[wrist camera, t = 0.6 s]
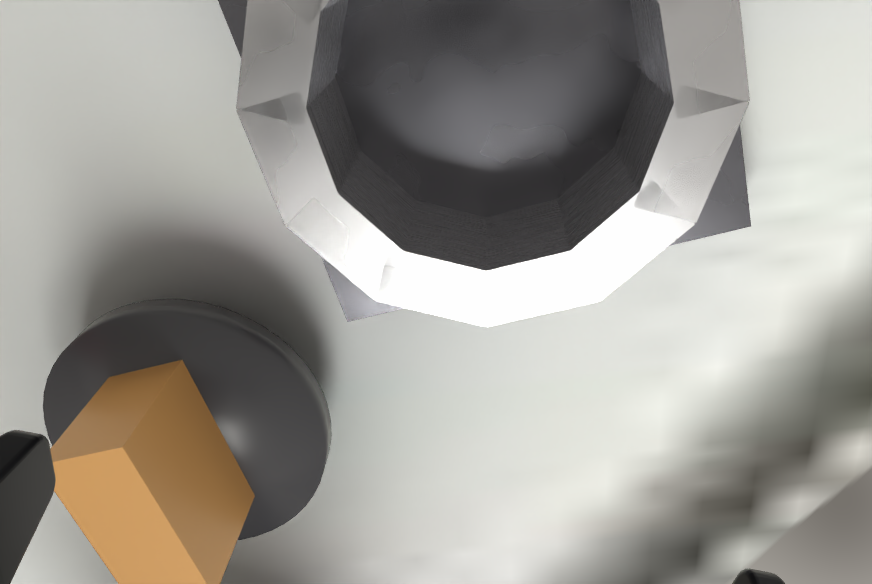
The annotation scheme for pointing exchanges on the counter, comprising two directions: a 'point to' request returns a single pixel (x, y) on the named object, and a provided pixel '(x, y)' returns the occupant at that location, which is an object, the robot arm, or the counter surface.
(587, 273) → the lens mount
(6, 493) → the robot arm
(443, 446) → the counter surface
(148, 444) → the disc with orange block
